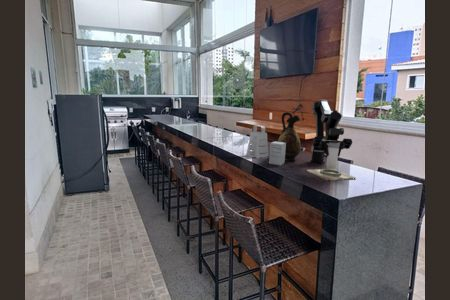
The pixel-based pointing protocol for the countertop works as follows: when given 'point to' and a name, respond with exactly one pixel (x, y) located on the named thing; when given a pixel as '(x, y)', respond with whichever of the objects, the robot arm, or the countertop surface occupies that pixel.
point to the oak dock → (330, 174)
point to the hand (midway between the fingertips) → (333, 156)
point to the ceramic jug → (290, 137)
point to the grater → (258, 143)
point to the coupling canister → (332, 155)
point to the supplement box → (277, 153)
